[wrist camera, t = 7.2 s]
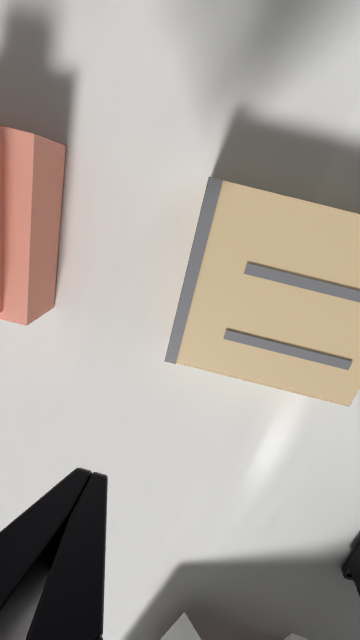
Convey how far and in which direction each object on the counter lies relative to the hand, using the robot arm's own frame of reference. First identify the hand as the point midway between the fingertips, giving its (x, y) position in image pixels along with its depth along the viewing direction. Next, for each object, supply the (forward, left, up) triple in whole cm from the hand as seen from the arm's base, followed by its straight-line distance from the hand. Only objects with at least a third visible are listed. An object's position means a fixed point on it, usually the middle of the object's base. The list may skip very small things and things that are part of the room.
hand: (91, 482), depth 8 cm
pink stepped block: (+9, -4, -11) cm, 15 cm away
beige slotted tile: (-6, -4, -11) cm, 13 cm away
